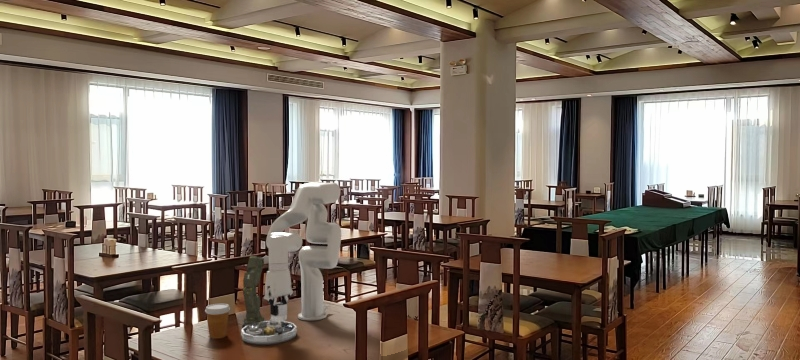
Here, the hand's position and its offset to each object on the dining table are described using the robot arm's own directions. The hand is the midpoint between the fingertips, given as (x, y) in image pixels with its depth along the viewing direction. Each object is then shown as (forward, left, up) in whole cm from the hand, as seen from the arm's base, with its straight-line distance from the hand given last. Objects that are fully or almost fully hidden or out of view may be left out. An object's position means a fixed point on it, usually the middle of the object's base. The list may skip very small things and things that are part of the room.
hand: (278, 313), depth 228 cm
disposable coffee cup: (+11, -23, -11) cm, 28 cm away
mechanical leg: (-8, -24, -11) cm, 27 cm away
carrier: (0, -6, -10) cm, 12 cm away
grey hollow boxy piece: (0, 0, -3) cm, 3 cm away
